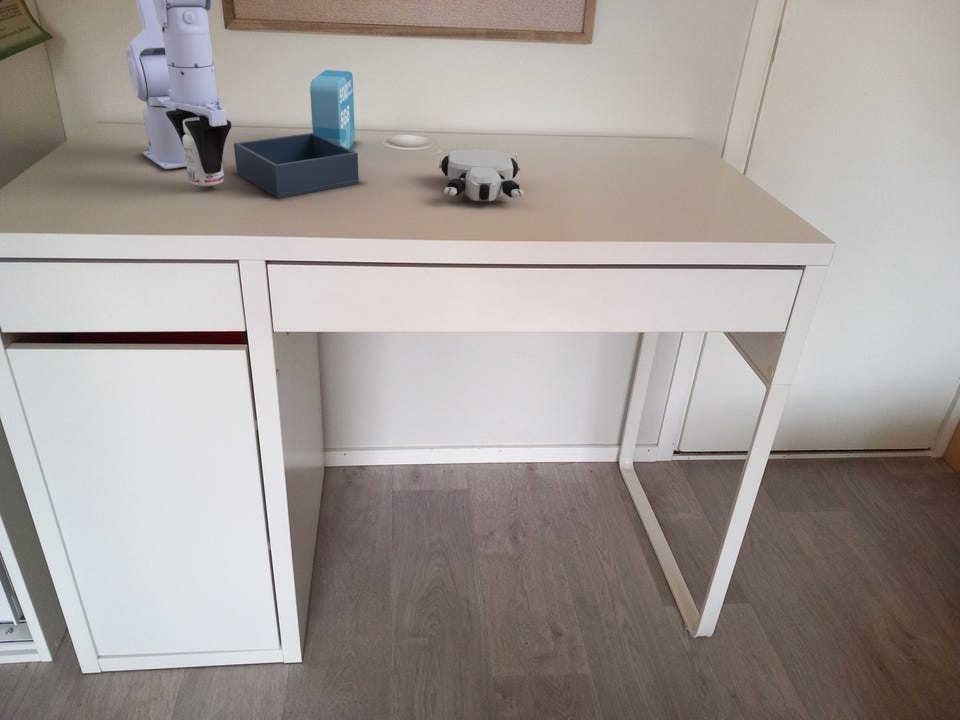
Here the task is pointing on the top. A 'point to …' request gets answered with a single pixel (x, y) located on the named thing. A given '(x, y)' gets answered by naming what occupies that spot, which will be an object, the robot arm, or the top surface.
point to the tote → (296, 164)
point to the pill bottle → (197, 162)
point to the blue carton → (333, 107)
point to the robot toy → (480, 174)
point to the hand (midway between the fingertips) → (204, 167)
